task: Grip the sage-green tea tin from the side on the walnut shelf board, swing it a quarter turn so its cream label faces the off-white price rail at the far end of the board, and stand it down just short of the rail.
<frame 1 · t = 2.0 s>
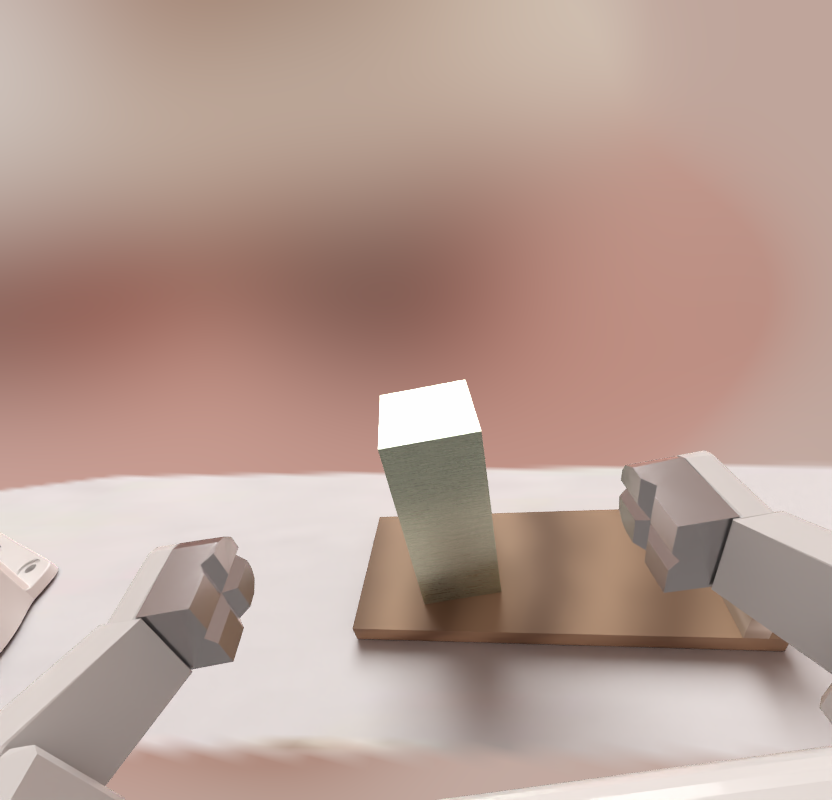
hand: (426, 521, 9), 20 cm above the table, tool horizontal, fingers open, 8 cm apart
tea tin: (457, 564, 29), point 1 cm above the table, touching shelf board
shelf board: (540, 575, 28), on the table
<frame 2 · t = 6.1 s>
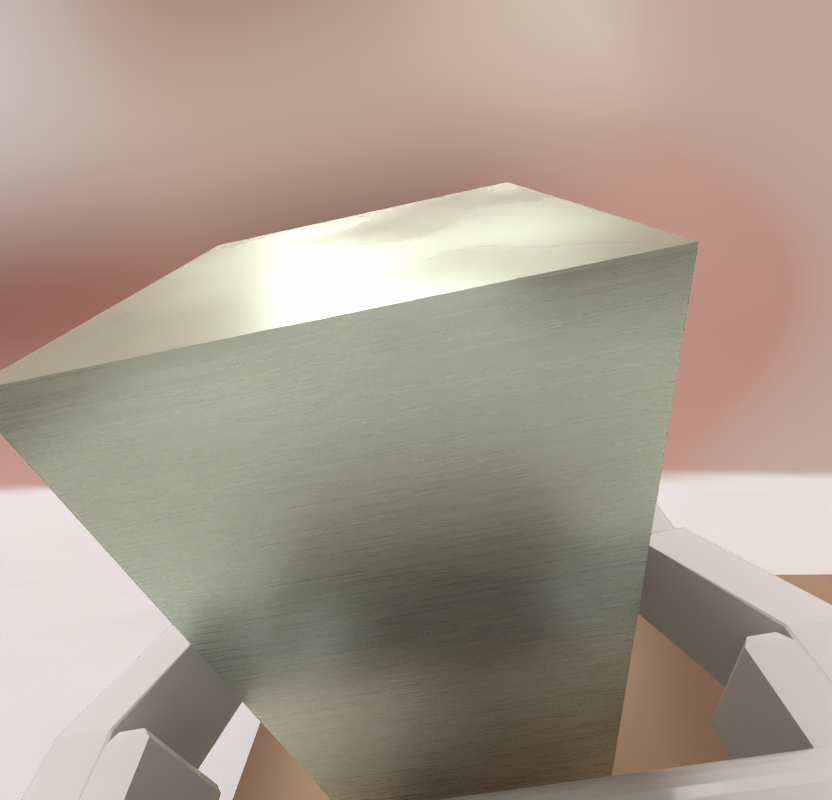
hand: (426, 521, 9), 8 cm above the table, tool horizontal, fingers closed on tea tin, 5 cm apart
tea tin: (474, 719, 12), point 1 cm above the table, touching gripper, shelf board
shelf board: (685, 754, 11), on the table
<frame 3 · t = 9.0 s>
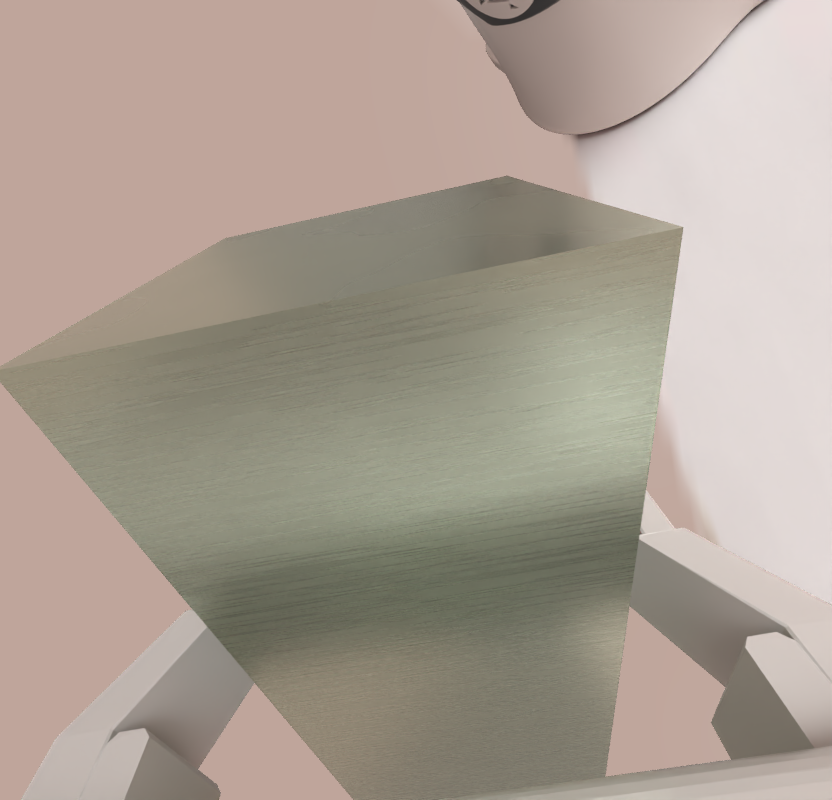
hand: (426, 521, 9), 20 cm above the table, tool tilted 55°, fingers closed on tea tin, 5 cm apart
tea tin: (474, 706, 12), point 17 cm above the table, tilted 59°, touching gripper
when the fingers open (10 cm above the table, at t = 15.8 s): tea tin drops 1 cm, resting on shelf board.
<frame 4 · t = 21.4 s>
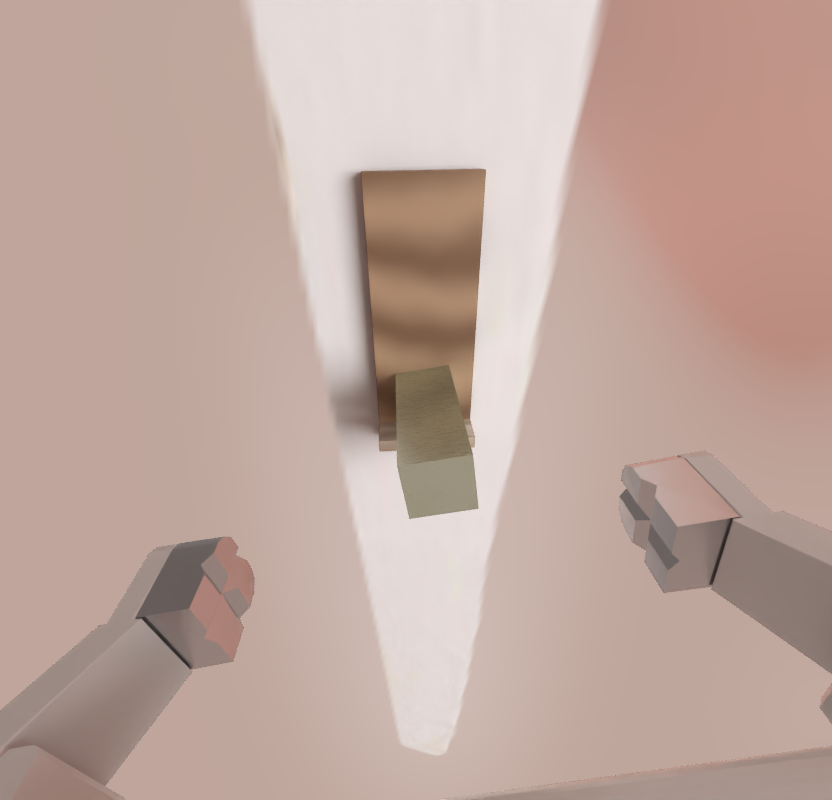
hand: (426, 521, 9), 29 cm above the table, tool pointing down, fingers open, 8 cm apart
tea tin: (425, 392, 39), point 1 cm above the table, touching shelf board
shelf board: (423, 323, 37), on the table
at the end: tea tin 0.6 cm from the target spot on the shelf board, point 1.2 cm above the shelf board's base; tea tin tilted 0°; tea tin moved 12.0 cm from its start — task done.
